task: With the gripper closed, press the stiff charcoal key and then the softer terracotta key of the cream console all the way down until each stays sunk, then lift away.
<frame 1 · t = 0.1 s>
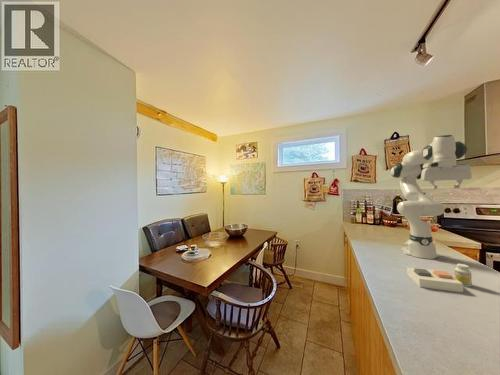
hand: (445, 188, 103), 48 cm above the worktop, fingers open, 8 cm apart
supplement bottle: (463, 284, 92), on the worktop
terracotta key: (442, 275, 94), point 4 cm above the worktop, slide at 0.0 cm
charcoal key: (422, 273, 96), point 4 cm above the worktop, slide at 0.0 cm
console: (432, 282, 95), on the worktop
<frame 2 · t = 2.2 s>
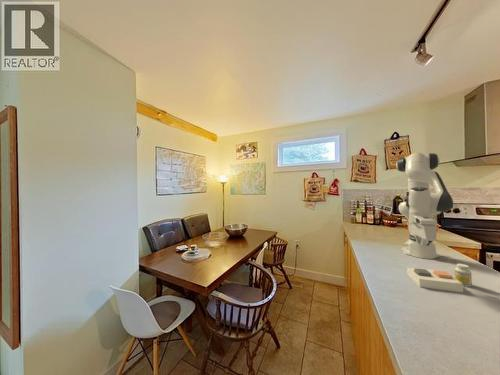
hand: (421, 244, 97), 19 cm above the worktop, fingers open, 3 cm apart
nothing on the worktop moved.
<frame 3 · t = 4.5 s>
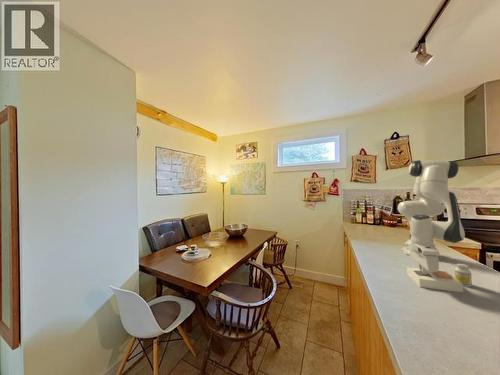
hand: (423, 273, 96), 4 cm above the worktop, fingers closed, pressing on charcoal key
charcoal key: (422, 275, 96), point 3 cm above the worktop, slide at 1.1 cm, touching gripper
everything else where it was.
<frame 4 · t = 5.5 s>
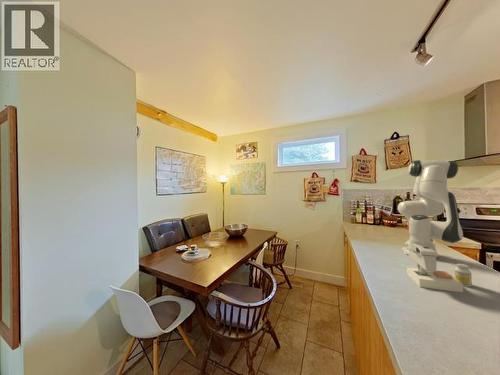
hand: (421, 272, 97), 4 cm above the worktop, fingers closed
charcoal key: (422, 277, 96), point 2 cm above the worktop, slide at 2.1 cm
everything else where it was.
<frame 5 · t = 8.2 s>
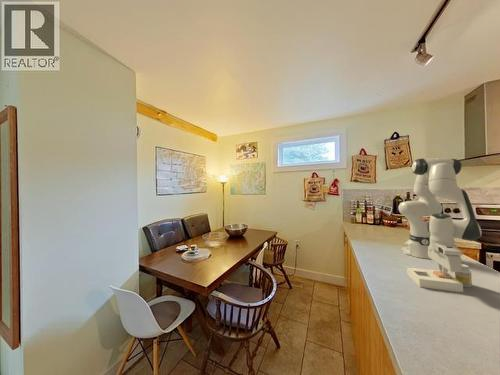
hand: (443, 273, 93), 5 cm above the worktop, fingers closed
terracotta key: (442, 276, 94), point 4 cm above the worktop, slide at 0.3 cm, touching gripper
everything else where it was.
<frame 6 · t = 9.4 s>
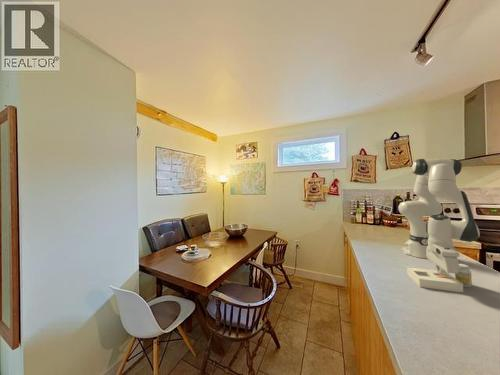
hand: (440, 274, 94), 5 cm above the worktop, fingers closed
terracotta key: (442, 280, 94), point 2 cm above the worktop, slide at 2.2 cm
everything else where it was.
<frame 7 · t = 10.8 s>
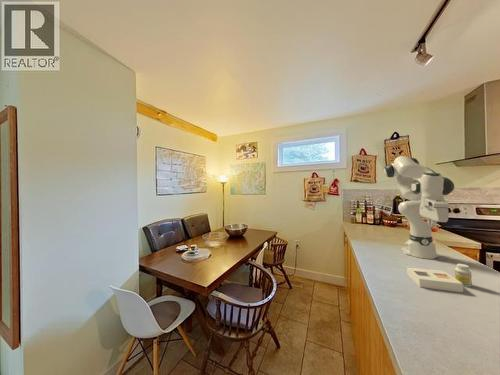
hand: (432, 226, 103), 27 cm above the worktop, fingers closed
nothing on the worktop moved.
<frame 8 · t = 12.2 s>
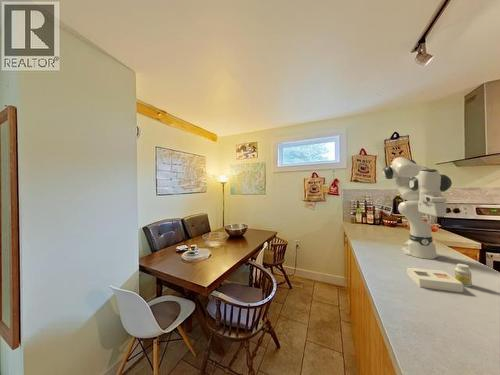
hand: (431, 222, 104), 29 cm above the worktop, fingers closed
nothing on the worktop moved.
at the end: charcoal key slide at 2.1 cm; terracotta key slide at 2.2 cm; supplement bottle moved 0.2 cm from its start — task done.
